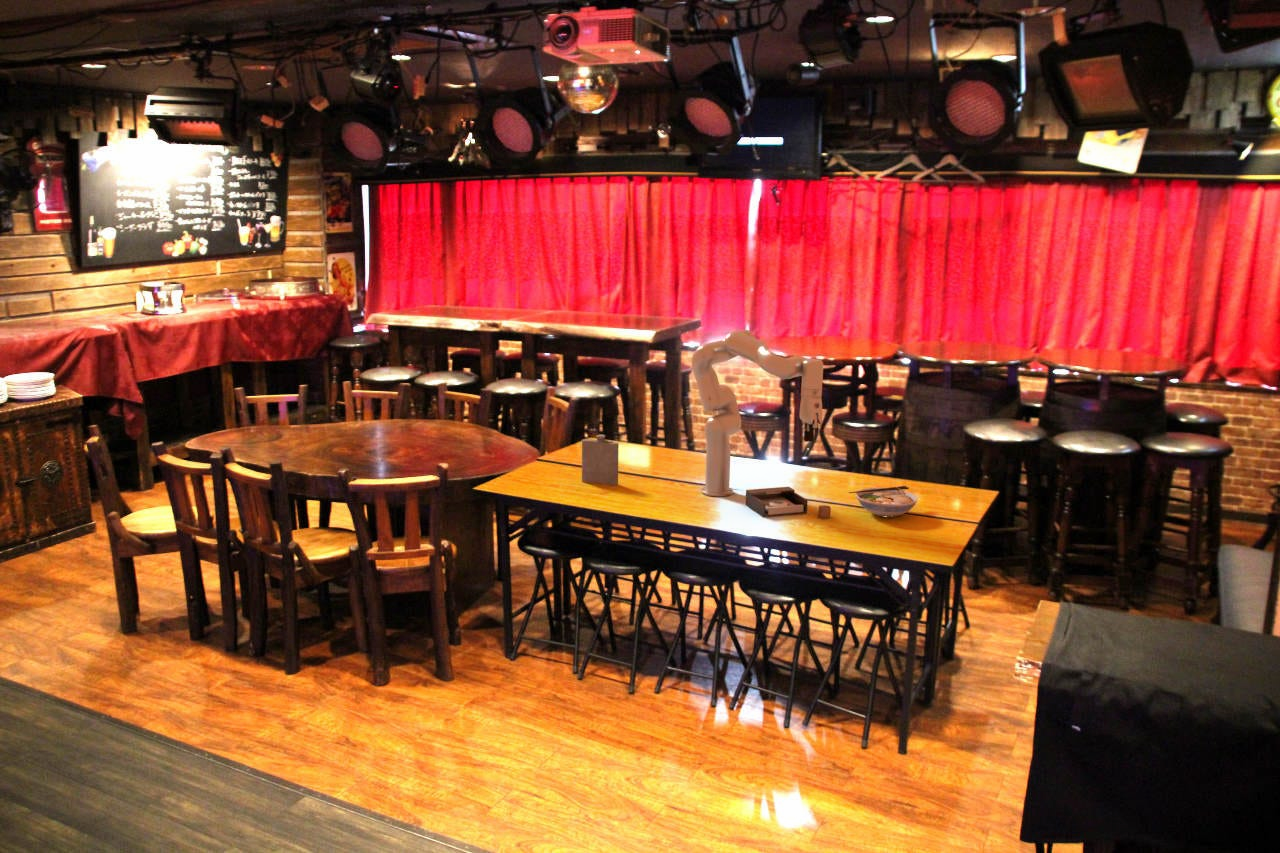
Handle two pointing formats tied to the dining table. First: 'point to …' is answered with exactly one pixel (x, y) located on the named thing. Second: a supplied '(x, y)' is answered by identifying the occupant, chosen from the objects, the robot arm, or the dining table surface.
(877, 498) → the ramen bowl
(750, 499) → the tray
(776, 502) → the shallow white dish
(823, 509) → the brown cube
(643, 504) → the dining table surface
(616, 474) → the hip flask
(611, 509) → the dining table surface
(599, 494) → the dining table surface
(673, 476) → the dining table surface
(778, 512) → the tray
